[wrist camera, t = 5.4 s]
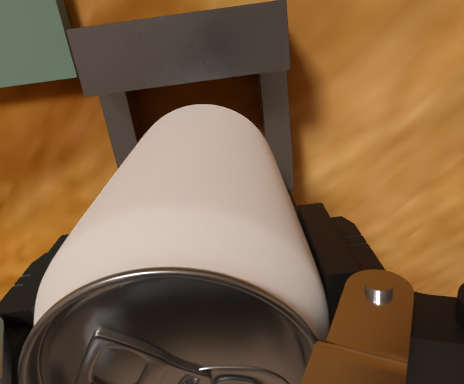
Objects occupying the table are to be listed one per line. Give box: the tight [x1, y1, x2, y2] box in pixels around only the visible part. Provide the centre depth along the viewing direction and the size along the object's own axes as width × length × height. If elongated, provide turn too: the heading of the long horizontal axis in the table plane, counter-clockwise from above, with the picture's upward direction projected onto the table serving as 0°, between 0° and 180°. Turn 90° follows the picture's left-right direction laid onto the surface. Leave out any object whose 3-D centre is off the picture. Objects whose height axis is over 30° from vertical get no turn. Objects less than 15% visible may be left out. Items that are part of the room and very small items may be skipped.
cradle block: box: [66, 0, 297, 214], centre depth 22 cm, size 11×14×5 cm
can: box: [17, 104, 329, 384], centre depth 12 cm, size 6×6×12 cm
